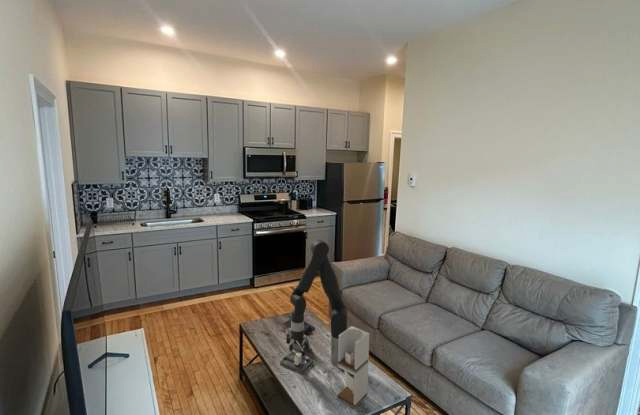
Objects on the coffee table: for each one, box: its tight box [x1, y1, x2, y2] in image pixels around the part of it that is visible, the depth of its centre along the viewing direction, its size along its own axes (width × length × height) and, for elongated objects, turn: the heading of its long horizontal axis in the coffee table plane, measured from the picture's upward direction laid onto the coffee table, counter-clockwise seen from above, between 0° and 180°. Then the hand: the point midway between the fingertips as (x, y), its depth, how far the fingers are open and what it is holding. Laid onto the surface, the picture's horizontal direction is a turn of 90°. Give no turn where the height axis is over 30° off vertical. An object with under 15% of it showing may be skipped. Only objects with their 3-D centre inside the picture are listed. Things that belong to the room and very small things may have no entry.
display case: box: [336, 325, 370, 409], centre depth 169 cm, size 11×11×35 cm
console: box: [279, 350, 315, 375], centre depth 198 cm, size 16×12×4 cm
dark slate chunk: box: [283, 317, 316, 335], centre depth 238 cm, size 15×22×5 cm
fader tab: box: [294, 352, 302, 365], centre depth 194 cm, size 2×4×5 cm, turn 148°
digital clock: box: [287, 328, 311, 353], centre depth 214 cm, size 16×9×11 cm, turn 39°
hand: (297, 353), depth 194 cm, fingers open, 8 cm apart
